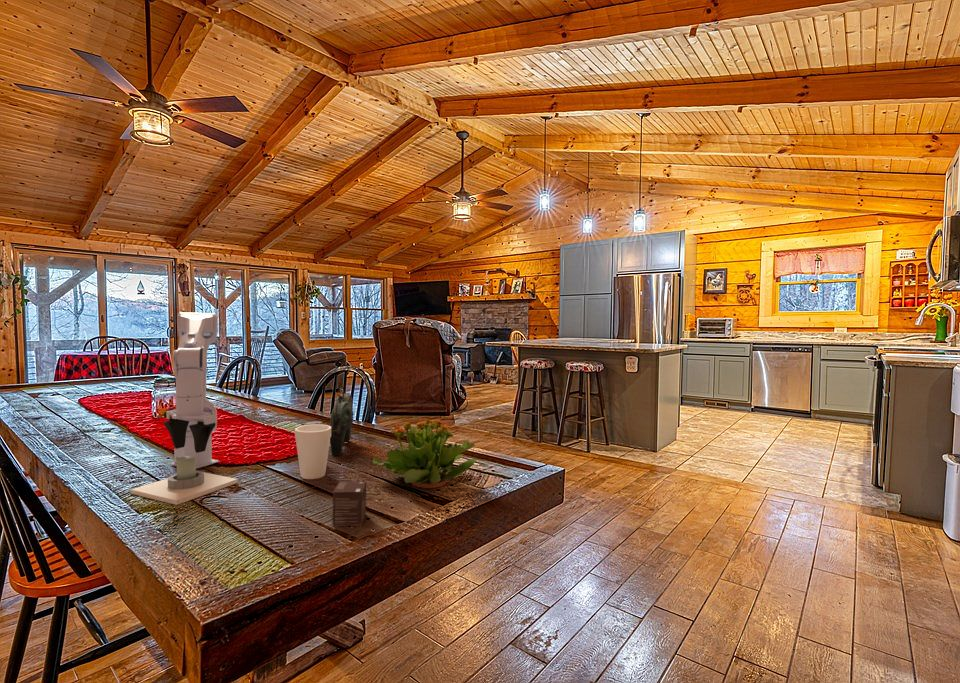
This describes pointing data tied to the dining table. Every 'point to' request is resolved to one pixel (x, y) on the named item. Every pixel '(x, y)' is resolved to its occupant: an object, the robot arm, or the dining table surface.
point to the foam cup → (312, 449)
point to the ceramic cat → (341, 422)
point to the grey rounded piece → (186, 467)
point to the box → (349, 503)
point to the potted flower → (426, 455)
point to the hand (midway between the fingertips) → (189, 449)
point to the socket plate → (183, 494)
